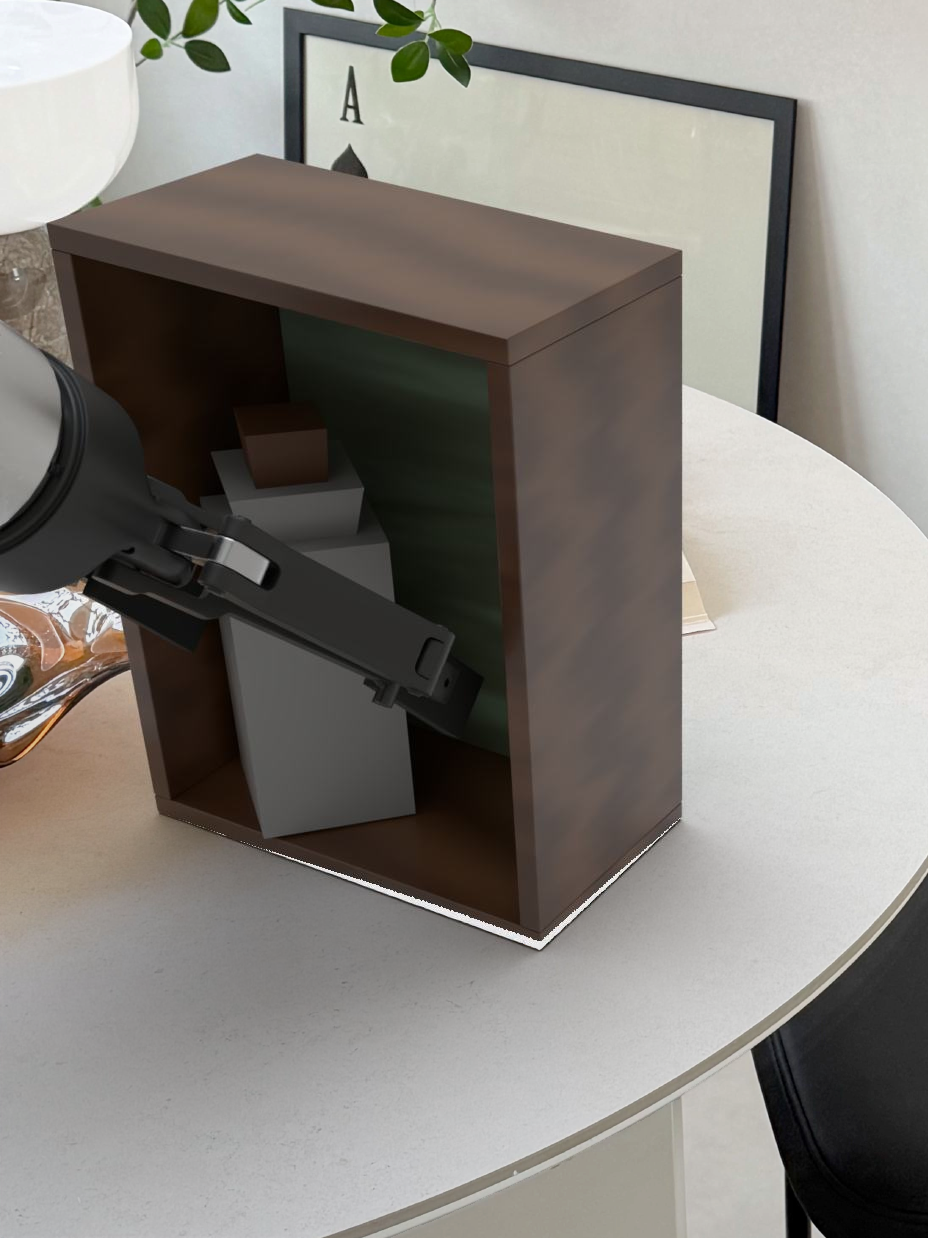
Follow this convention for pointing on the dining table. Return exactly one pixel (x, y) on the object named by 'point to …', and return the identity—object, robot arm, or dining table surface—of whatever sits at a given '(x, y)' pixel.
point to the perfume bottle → (289, 676)
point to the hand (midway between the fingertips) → (329, 663)
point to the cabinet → (425, 498)
